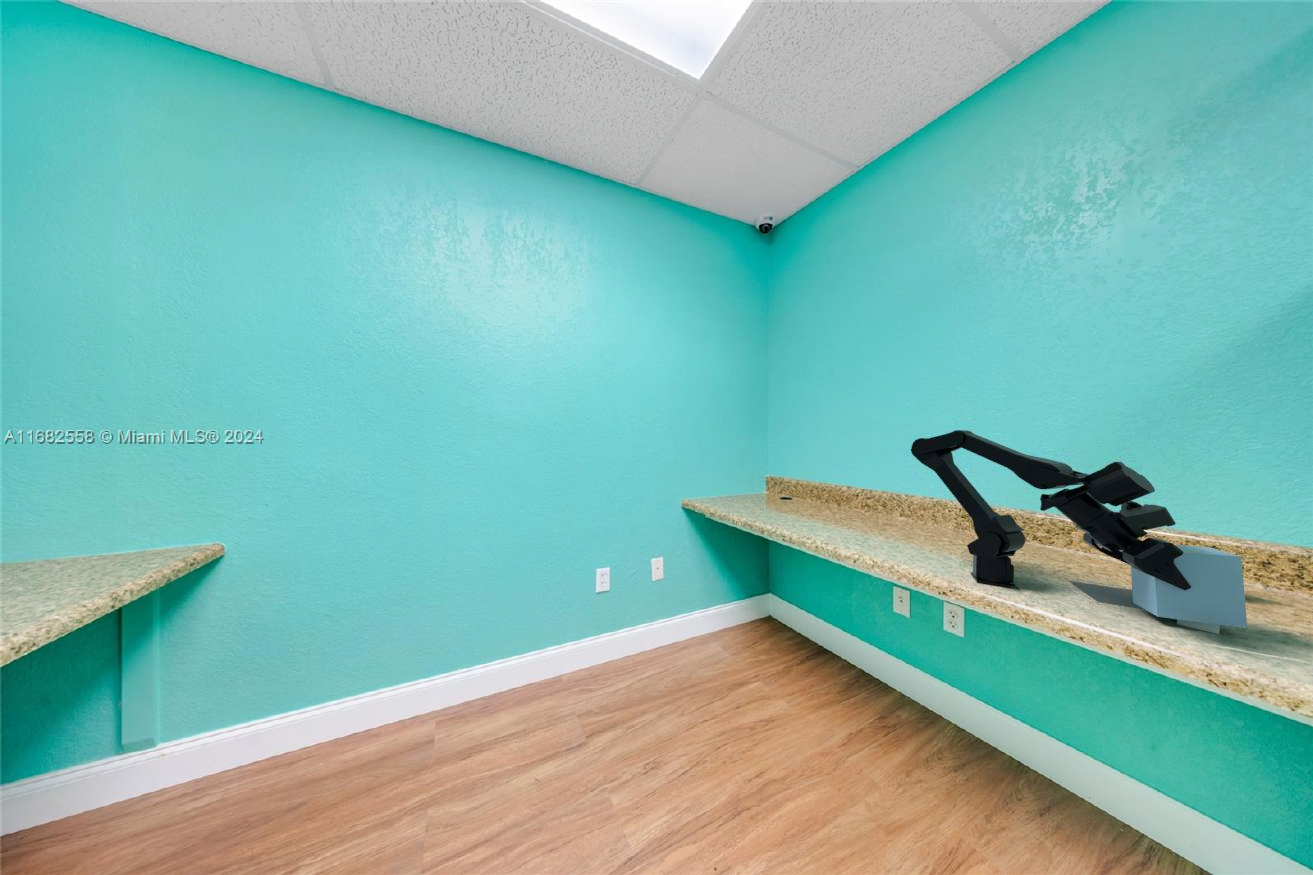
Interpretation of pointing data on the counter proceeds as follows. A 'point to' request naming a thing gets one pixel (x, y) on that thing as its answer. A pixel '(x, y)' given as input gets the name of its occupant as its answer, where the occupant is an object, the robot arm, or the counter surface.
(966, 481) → the robot arm
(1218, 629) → the usb wall charger
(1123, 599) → the mat
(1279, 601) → the counter surface
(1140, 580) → the light blue rectangular block
